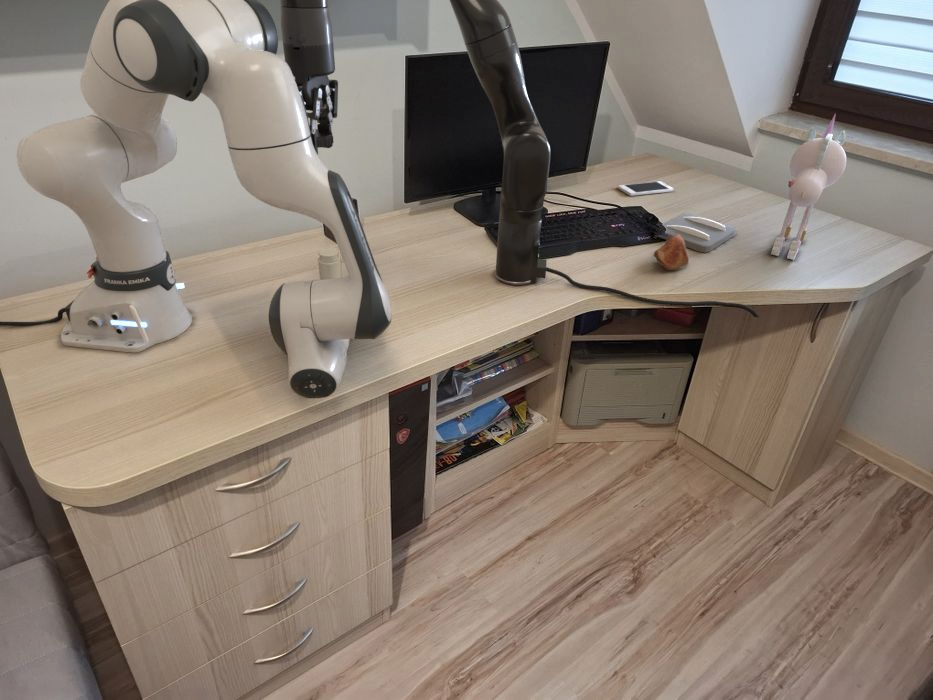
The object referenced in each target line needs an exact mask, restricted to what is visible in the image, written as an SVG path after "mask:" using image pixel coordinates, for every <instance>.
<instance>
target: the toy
mask: <svg viewBox="0 0 933 700" xmlns="http://www.w3.org/2000/svg"><path fill="white" fill-rule="evenodd" d="M836 116H837V115H836V112H835V113H834V115H833V116H832V119H831V120H830V122H829V124H828V126H827V128H826V130H825V131H824V133H823V134H822V136H821V137H817V138H816V136H817V128H815V127H810V129H809V130H808V133H807V135H806V136H805V142H804V143H802V144H801V145H800V146H798V148H797V149H796V150H795V151H794V152H793V154H792V156H791V159H790V162H789V173H790V175H791V178H792V180H789V181H788V188H789V189H788V198H789V201H790V202H789V205H788V209H787V212H786V215H785V218H784V221H783V223H782V227H781V230H780V233H779V235H777V236H776V239H775V241H774V243H773V246H772V249H771V253H770V255H772V256H776V257H779V255H780V253H781V252H782V249H783V248H784V246H785V242H786V240H789V238H790V234H791V232H792V227H793V225H792V223H793V219H794V217H795V213H796V211H797V208H798V207H801V208H802V207H804V208H805V210H804V213H803V216H802V219H801V222H800V225H799V227H798V230H797V233H796V237H795V239H793V240H792V242H791V245H790V247H789V250H788V253H787V256H786V259H788V260H792V261H794V260H795V259H796V257H797V255H798V253H799V251H800V249H801V245H802V244H803V243H804V240H805V238H806V235H807V231H808V228H807V227H808V224H809V221H810V218H811V215H812V212H813V209H814V207H815V204H816V202H817V201H818V200H819V199H820V197H821V195H822V193H823V191H824V189H827V188H828V187H831V186H832V185H834V184H835V183H836V182H837V181H838V180H840V178H841V177H842V176H843V174H844V173H845V170H846V168H847V167H846V166H847V154H846V152H845V150H844V148H843V145H844V143H845V141H846V140H847V134H846V131H845V130H840V131H839V132H838V133H837V135H836V137H835V139H833V129H834V125H835V120H836ZM841 135H842V138H841V141H840V137H841Z"/></svg>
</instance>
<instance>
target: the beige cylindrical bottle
mask: <svg viewBox="0 0 933 700" xmlns="http://www.w3.org/2000/svg"><path fill="white" fill-rule="evenodd" d="M339 252H340V251H339V249H337V248H335V247H325V248H321V249H320V250H319V251H318V256H319V257H318V258H317V264H318V271H319V280H324V279H334V278H344V276H343V268H342V256H340V253H339Z"/></svg>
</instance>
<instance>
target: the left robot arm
mask: <svg viewBox="0 0 933 700" xmlns="http://www.w3.org/2000/svg"><path fill="white" fill-rule="evenodd" d="M278 48H279V36H278V30H277V26H276V23H275V21H274V19H273V17H272V15H271V13H270V12H269V10H268V8H266V6H265V5H264V4H263V3H262V2H261V1H260V0H109V1H108V2H107V3H106V5H105V7H104V9H103V11H102V12H101V15H100V17H99V19H98V22H97V23H96V26H95V28H94V31H93V35H92V37H91V40H90V44H89V48H88V50H87V54H86V59H85V62H84V65H83V68H82V69H83V70H82V73H81V77H80V81H79V85H80V91H81V93H82V95H83V98H84V101H85V102H86V104H87V105H88V107H89V108H90V109H91V110H92V111H93V113H91V114H89V115H86V116H82V117H78V118H74V119H70V120H66V121H61V122H57V123H52V124H49V125H46V126H44V127H42V128H40V129H37V130H36V131H34V132H32V133H30V134H28V135H26V136H24V137H22V138H21V139H20V140H19V142H18V145H17V148H16V164H17V167H18V170H19V172H20V174H21V176H22V178H23V179H24V180H25V182H26V183H27V184H28V185H29V186H30V187H31V188H32V189H33V190H35V191H36V192H37V193H38V194H40V195H42V196H43V197H45V198H48V199H51V200H53V201H57V202H58V203H61V204H62V205H64V206H66V207H67V208H69V209H70V210H71V211H72V212H73V213H74V214H75V215H77V217H78V218H79V219H80V221H81V223H82V224H83V225H84V227H85V229H86V231H87V234H88V236H89V239H90V241H91V243H92V246H93V250H94V252H95V254H96V258H95V261H94V262H92V264H90V268H89V269H88V271H87V272H86V275H88V276H87V279H91V278H92V277H93V278H94V280H93V281H91V282H90V283H89V284H88V285H87V286H86V287H84V289H82V291H80V293H79V294H78V295H77V296H76V297H75V298H74V299H73V300H72V301H71V302H70V303H68V304H67V305H66V306H65V307H63V308H60V309H59V310H58V311H57V316H55V317H54V318H51V319H48V320H43V321H0V327H35V326H40V325H47V324H48V325H49V324H54V323H58V322H60V321H61V320H63V317H64V313H66V317H67V320H68V321H67V322H66V324H65V326H64V327H63V328H62V330H61V331H60V332H61V333H60V340H61V344H62V346H66V347H73V348H84V349H85V348H86V349H93V350H102V351H103V350H105V351H112V352H124V353H134V354H135V353H140V352H143V351H144V350H147V349H148V348H151V347H152V346H154V345H157V344H160V343H164V342H167V341H169V340H172V339H174V338H176V337H178V336H180V335H181V334H183V333H184V332H185V331H186V330H188V329H189V328H190V326H191V325H192V322H193V316H192V314H191V313H190V311H189V309H188V307H187V306H186V305H185V302H184V301H183V299H182V296H181V294H180V291H179V289H185V283H184V282H180V283H179V282H178V283H176V282H177V281H176V273H175V272H176V271H175V268H174V266H173V263H172V259H171V255H170V253H169V252H168V251H167V250H166V245H165V241H164V238H163V234H162V229H161V226H160V222H159V218H158V217H157V215H156V214H155V213H154V211H153V210H151V209H150V207H147V206H146V205H145V204H142V203H140V202H136V201H132V200H128V199H126V197H125V196H124V194H123V191H122V184H124V183H126V182H129V181H132V180H135V179H138V178H141V177H144V176H147V175H150V174H151V175H152V174H153V173H154V172H156V171H159V170H160V169H162V168H163V167H165V166H166V165H167V164H169V163H170V162H172V161H173V160H174V159H175V158H176V155H177V153H178V138H177V134H176V131H175V129H174V127H173V125H172V124H171V122H170V121H169V120H168V119H167V117H166V116H164V115H163V112H164V108H165V106H166V102H167V100H168V97H169V95H171V96H174V97H176V98H179V99H181V100H184V101H187V102H190V103H191V102H194V101H196V99H198V97H199V96H200V95H201V94H202V95H204V96H206V97H207V98H208V99H209V100H210V101H211V102H212V103H213V104H214V105H215V107H216V109H217V110H218V112H219V116H220V118H221V122H222V126H223V131H224V137H225V139H226V140H225V141H226V144H227V148H228V153H229V156H230V160H231V163H232V167H233V170H234V173H235V175H236V178H237V179H238V181H239V183H240V185H241V186H242V188H244V189H245V191H246V192H248V193H249V194H250V195H251V196H252V197H254V198H256V200H259V201H260V202H262V203H263V204H267V205H269V206H271V207H273V208H276V209H280V210H284V211H289V212H293V213H297V214H299V215H303V216H306V217H309V218H312V219H313V220H316V221H318V222H320V223H321V224H323V225H324V226H325V227H327V229H329V230H330V232H331V233H332V235H333V237H334V239H335V242H336V244H337V248H338V251H339V252H340V253H339V254H340V255H341V259H342V260H343V263H344V265H345V268H346V271H347V274H348V275H347V276H345V277H344V276H343V278H334V279H324V280H320V279H316V280H315V279H309V280H298V281H291V282H283V283H282V284H281V285H280V286H279V287H278V288H277V289H276V291H275V292H274V294H273V295H272V298H271V300H270V303H269V308H268V325H269V331H270V333H271V336H272V339H273V341H274V342H275V344H276V345H277V347H278V348H279V349H280V350H281V351H282V352H283V353H284V354H285V355H286V356H287V363H288V364H287V365H288V368H287V369H288V370H287V380H288V385H289V387H290V389H291V390H292V391H293V392H294V393H295V394H296V395H298V396H300V397H302V398H305V399H312V400H313V399H324V398H327V397H329V396H331V395H333V394H334V393H335V392H336V391H337V390H338V388H339V387H340V385H341V383H342V380H343V377H344V373H345V370H346V365H347V359H348V354H347V352H348V349H349V347H350V341H351V340H353V339H354V340H375V339H377V338H378V337H380V336H381V335H382V334H383V333H384V332H385V331H386V330H387V329H388V327H389V326H390V325H391V323H392V316H393V306H392V301H391V296H390V293H389V291H388V290H387V287H386V285H385V284H384V281H383V279H382V276H381V274H380V272H379V270H378V267H377V264H376V262H375V259H374V256H373V253H372V250H371V248H370V245H369V241H368V238H367V235H366V233H365V231H364V228H363V224H362V222H361V219H360V217H359V214H358V211H357V208H356V206H355V203H354V200H353V197H352V195H351V193H350V191H349V189H348V186H347V185H346V183H345V180H344V179H343V178H342V176H341V174H339V173H338V172H335V171H333V170H331V169H329V168H328V167H327V166H326V165H325V163H324V162H323V161H322V159H321V158H320V156H319V154H318V155H317V153H316V151H315V148H314V146H313V143H312V139H311V135H310V130H309V125H310V124H309V125H308V121H309V120H308V121H307V117H306V113H305V109H304V106H303V102H302V99H301V96H300V93H299V90H298V87H297V84H296V82H295V77H294V76H293V74H292V71H291V69H290V67H289V66H288V64H287V63H286V62H285V59H283V58H282V57H281V56H279V55H278V54H277V53H278Z"/></svg>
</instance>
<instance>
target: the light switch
mask: <svg viewBox="0 0 933 700" xmlns="http://www.w3.org/2000/svg"><path fill="white" fill-rule="evenodd" d="M661 224H662V225H663V226H664V227H665V228H666V231H665V234H667V235H668V237H665V236H662V235H658V236H657V235H654V236H655V237H657V238H659V239H663V240H665V241H667V240H668V238H670V237H672V236H676V235H678V234H680V235H681V236H682V238H683V239H684V241H685V245H686V248H689V249H692V250H694V251H697V252H699V253H709V252H711V251H712V250H714V249H716V248H717V247H719V246H720V245H722V244H724V243H725V242H727V241H730V239H732V238H734V237H736V234H737V228H736V227H734V226H732V225H729V224H725V223H722V222H719V221H716V220H713V219H710V218H707V217H703V216H700V215H697V214H694V213H690V212H683V213H682V214H679V215H677V216H675V217H673V218H671V219H669V220H668V221H666V222H663V223H661Z"/></svg>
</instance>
